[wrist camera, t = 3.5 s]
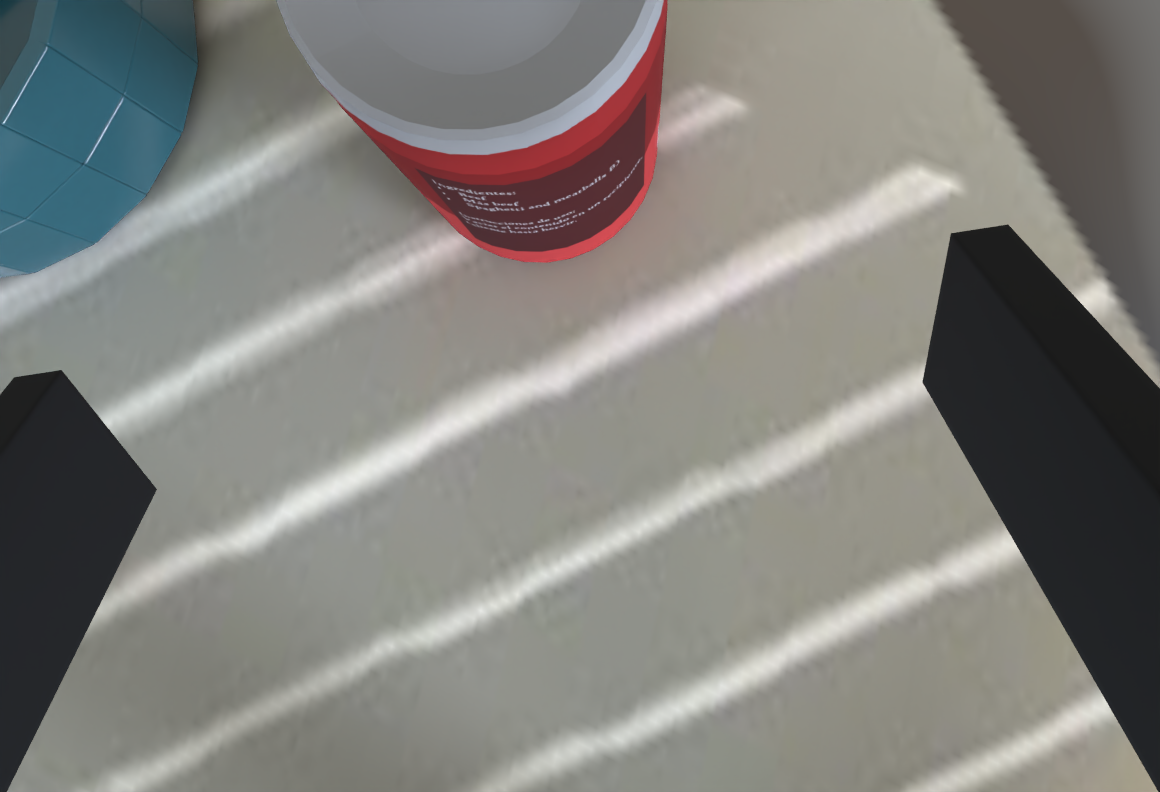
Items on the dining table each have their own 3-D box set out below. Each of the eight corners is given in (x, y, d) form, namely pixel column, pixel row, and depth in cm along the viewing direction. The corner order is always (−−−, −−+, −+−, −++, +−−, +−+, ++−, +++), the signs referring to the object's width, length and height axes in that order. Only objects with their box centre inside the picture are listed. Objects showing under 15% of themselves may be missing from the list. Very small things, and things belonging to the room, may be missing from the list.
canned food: (511, -7, 26) (414, -336, 15) (706, 125, 25) (758, -118, 14) (377, 178, 26) (181, -11, 15) (568, 314, 25) (511, 223, 14)
